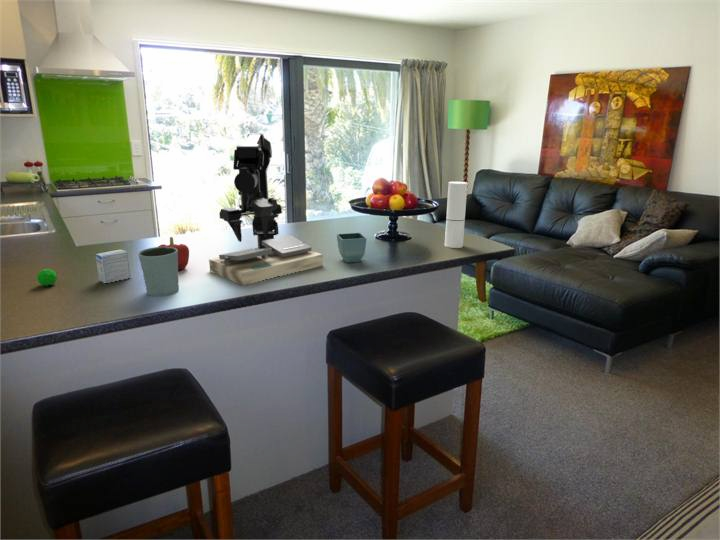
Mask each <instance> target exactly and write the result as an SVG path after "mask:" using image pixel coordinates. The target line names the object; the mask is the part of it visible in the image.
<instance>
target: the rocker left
mask: <svg viewBox="0 0 720 540" xmlns="http://www.w3.org/2000/svg"><path fill="white" fill-rule="evenodd" d="M268 254H272V249H255V248H249V249H247V248H246V249H242V250H238V251H232V252H228V253H224V254H223V253H222V254H219V255H218V257H219V258H220V259H223V260H224V257H226V256H227V257H229V260H238V261H239V260H244V259H249V258H254V257H258V256H263V255H268Z"/></svg>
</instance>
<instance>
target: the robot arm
mask: <svg viewBox="0 0 720 540" xmlns="http://www.w3.org/2000/svg"><path fill="white" fill-rule="evenodd" d="M271 144H272V143H271V141H269V140H268V139H267V138H266V137H265V135H264V133H262V132H250V133H247V137H246V140H245V142H244V143H240V144H239V143H238V145H236V148H234V151H233V152H234V153H233V170H234V171H235V170H236V171H237V170H238V173H237V174H236V175H235V178H234V180H233V184H234V187H235V188H236V190H237V192H238V196H239V195H240V201H241V203H240V204H239V206H238V207H239V208H233V207H227V208H221V209H220V211H219V219H222V220H223V221H224V222H227V223H228V225H229V226H230V228H231V230H232V231H233V233H234V235H235V237H236V239H237V242H243V241H242V239H243V238H242V237H243V236H242V226H241V225H242V224H243V220H242V219H241V218H242V216H243V217H244V216H251V215H253V218H252V221H251V222H252V223H251V224H252V225H251V226H252V235H253V236H257V247H255V248H254V249H263V248H266V247H265V246H263V245H262V241H263V240H269V239H274V238H275V236H278V235H280V233H279V223H278V222H277V220H276V218H278V217H279V215H280V214H282V213H283V211H282V209H283V207H282V206H281V205H280V204H278V202H277V201H278V200H277V198H276V197H269V186H268V185H269V184H268V171H267V169H268V167H269V165H270V162H271V159H272V158H273V150H272V145H271Z"/></svg>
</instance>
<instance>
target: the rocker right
mask: <svg viewBox="0 0 720 540" xmlns="http://www.w3.org/2000/svg"><path fill="white" fill-rule="evenodd" d="M303 242H304V241H302V242H301V240H299V239H298V238H296V237H294V236H292V235H286V236H280V237H274V239H269V240H263V241H262V245H263V246H265V247H266V248H272V250H273V252H274V253H276V254H278V255H279V256H281V257H287V256H291V255H296V254H300V253H305V252H309V251H312V246H310V245H309V244H307V243H305V242H304V243H303Z"/></svg>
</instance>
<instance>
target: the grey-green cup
mask: <svg viewBox="0 0 720 540" xmlns="http://www.w3.org/2000/svg"><path fill="white" fill-rule="evenodd" d="M137 255H138V259H139V262H140V266H141V268H140V269H141V270H142V274H143V279H144V285H145V290H146V293H147V295H148V296H151V297H167V296H171V295H175V294H176V293H178V292H179V291H180V290H179V289H180V285H179V283H180V282H179V270H178V250H177V249H176V248H173V247H158V246H155V247H150V248H145V249H142V250H140V251H139V252H138V253H137ZM174 293H175V294H174Z"/></svg>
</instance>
